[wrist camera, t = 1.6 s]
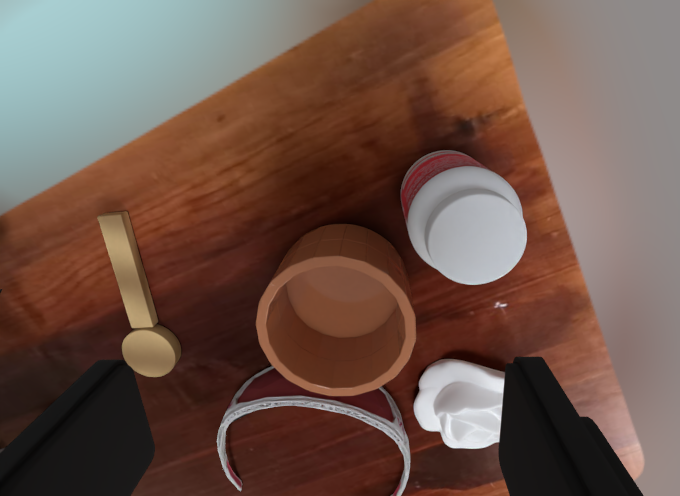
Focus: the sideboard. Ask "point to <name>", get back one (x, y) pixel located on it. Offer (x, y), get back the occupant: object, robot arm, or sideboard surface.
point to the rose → (461, 403)
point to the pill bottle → (462, 217)
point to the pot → (338, 312)
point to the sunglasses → (278, 389)
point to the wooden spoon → (137, 302)
